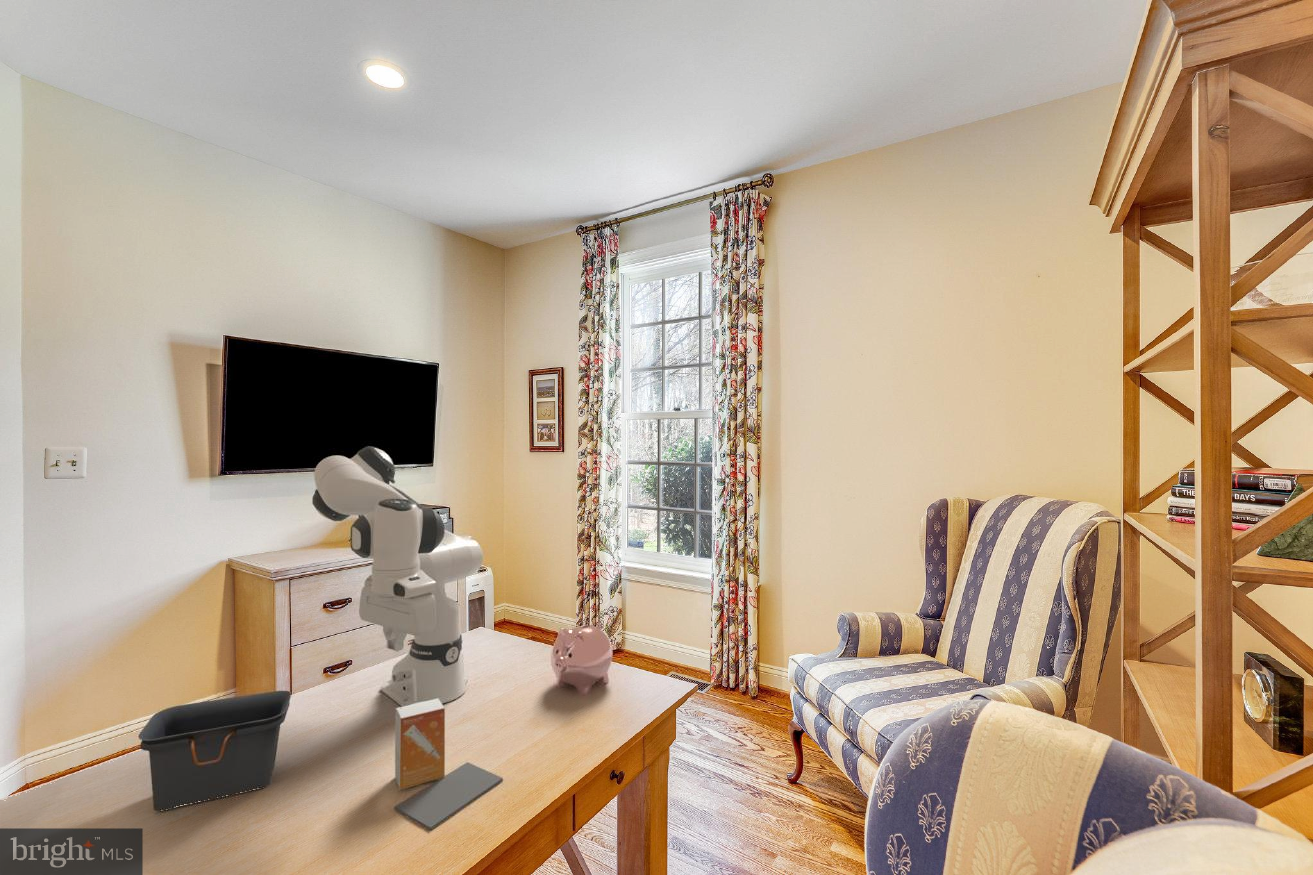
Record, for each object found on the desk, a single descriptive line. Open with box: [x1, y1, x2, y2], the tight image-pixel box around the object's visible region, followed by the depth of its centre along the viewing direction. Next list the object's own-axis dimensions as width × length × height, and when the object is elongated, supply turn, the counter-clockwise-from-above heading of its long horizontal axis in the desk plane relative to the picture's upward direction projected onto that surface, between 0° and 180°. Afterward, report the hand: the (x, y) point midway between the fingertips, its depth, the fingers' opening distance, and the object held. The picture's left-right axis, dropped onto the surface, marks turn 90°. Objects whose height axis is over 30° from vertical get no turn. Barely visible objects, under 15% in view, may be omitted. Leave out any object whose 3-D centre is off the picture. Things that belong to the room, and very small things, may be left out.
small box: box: [394, 698, 446, 791], centre depth 106 cm, size 8×6×13 cm
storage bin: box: [137, 690, 292, 812], centre depth 101 cm, size 21×16×14 cm
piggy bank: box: [550, 621, 613, 696], centre depth 148 cm, size 15×18×16 cm
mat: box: [393, 761, 504, 831], centre depth 101 cm, size 10×16×1 cm, turn 149°
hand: (395, 649), depth 110 cm, fingers closed
